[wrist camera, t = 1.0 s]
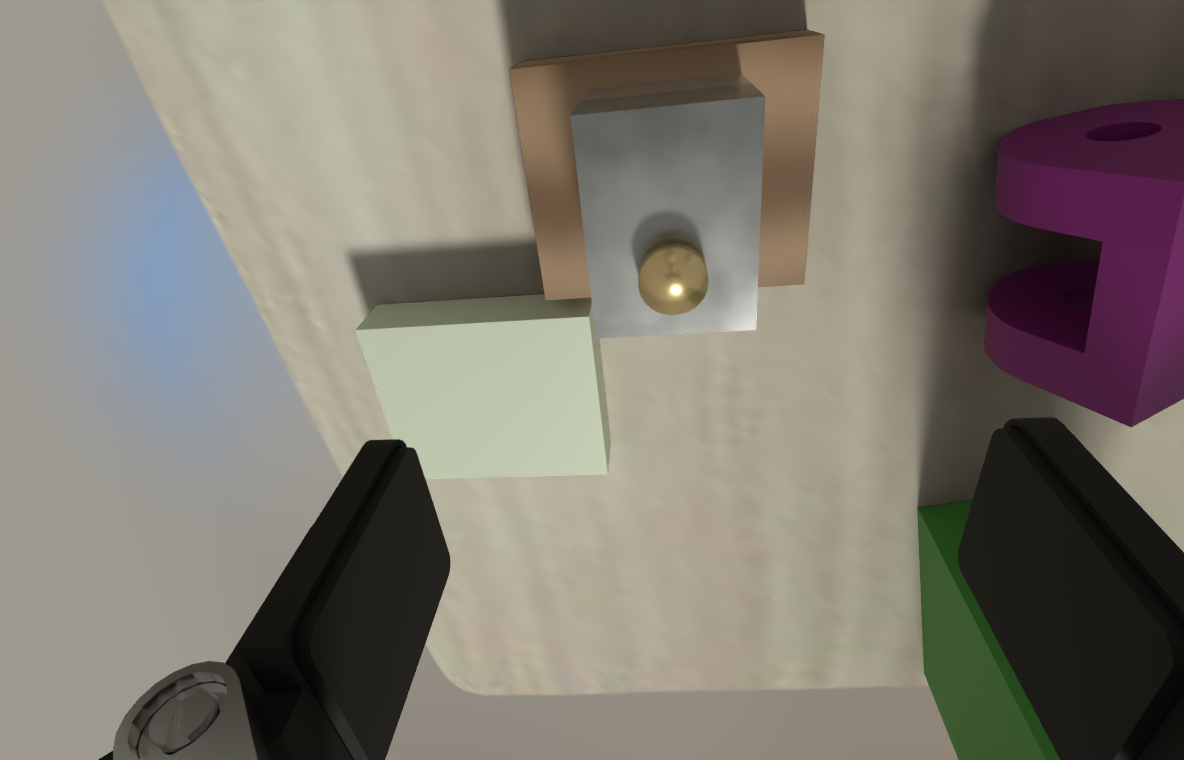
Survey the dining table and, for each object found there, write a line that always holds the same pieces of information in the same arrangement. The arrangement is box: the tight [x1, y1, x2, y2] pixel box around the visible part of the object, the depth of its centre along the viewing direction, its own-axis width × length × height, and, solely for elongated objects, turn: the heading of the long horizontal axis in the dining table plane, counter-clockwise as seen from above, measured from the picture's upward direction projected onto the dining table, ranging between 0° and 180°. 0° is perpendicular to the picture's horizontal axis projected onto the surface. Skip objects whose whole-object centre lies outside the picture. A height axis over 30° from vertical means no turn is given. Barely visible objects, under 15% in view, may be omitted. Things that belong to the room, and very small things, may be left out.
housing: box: [570, 73, 765, 338], centre depth 23 cm, size 8×6×7 cm
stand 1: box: [355, 294, 611, 479], centre depth 35 cm, size 10×12×3 cm
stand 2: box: [509, 30, 825, 300], centre depth 28 cm, size 10×12×3 cm
